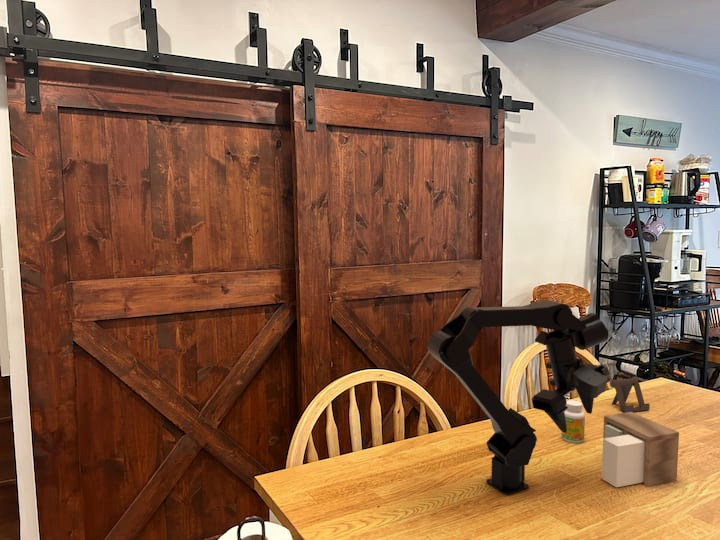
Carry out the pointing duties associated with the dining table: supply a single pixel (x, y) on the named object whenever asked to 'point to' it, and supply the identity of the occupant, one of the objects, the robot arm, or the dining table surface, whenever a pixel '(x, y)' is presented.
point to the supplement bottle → (574, 422)
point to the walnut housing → (648, 444)
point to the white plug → (623, 460)
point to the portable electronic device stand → (623, 392)
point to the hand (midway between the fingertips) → (577, 422)
